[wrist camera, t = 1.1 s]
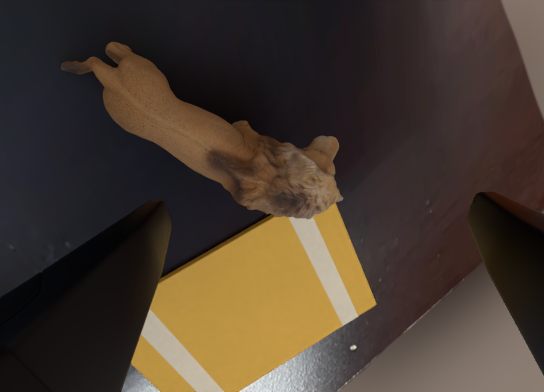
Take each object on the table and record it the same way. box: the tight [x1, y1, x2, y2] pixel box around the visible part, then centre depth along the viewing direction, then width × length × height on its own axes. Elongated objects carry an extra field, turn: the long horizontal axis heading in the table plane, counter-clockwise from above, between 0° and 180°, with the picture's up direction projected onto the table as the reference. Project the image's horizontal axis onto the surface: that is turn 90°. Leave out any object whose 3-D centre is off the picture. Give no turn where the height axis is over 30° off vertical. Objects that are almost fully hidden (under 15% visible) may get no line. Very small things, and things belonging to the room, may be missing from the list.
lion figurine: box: [61, 42, 343, 219], centre depth 16 cm, size 15×5×9 cm, turn 65°
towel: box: [131, 203, 376, 392], centre depth 26 cm, size 20×14×1 cm
